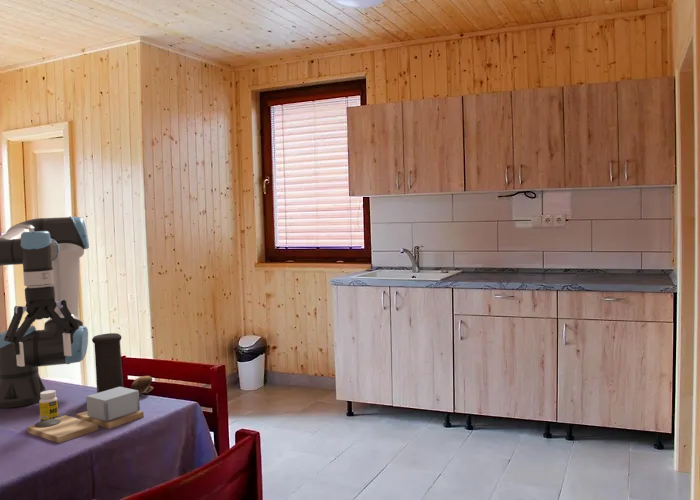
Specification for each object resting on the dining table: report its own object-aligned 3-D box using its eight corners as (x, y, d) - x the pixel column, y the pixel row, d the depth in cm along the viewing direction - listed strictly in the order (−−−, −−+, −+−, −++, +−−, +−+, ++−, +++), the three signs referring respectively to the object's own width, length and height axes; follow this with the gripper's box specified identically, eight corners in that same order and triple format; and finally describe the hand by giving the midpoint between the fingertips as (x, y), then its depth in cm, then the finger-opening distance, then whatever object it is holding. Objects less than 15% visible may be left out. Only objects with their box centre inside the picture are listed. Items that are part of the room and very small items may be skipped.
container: (115, 390, 209) (111, 330, 207) (130, 394, 203) (126, 332, 202) (91, 396, 202) (86, 335, 201) (105, 401, 196) (101, 337, 195)
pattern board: (76, 419, 179) (75, 403, 179) (110, 408, 188) (109, 393, 188) (109, 428, 170) (107, 412, 169) (143, 416, 178) (142, 401, 178)
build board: (25, 432, 170) (25, 425, 170) (64, 420, 179) (64, 414, 179) (58, 443, 160) (58, 436, 160) (98, 429, 169) (97, 423, 169)
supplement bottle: (51, 423, 176) (49, 394, 176) (36, 423, 177) (34, 394, 177) (62, 418, 181) (60, 389, 180) (48, 418, 182) (46, 389, 181)
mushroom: (162, 380, 206) (149, 367, 204) (153, 396, 199) (140, 382, 197) (145, 390, 208) (132, 377, 206) (136, 406, 201) (122, 393, 199)
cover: (87, 416, 176) (86, 396, 175) (121, 405, 184) (119, 386, 184) (106, 421, 170) (105, 400, 170) (139, 410, 179) (138, 390, 179)
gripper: (-1, 292, 164) (6, 372, 165) (87, 281, 184) (93, 352, 186) (-14, 291, 169) (-8, 369, 170) (73, 280, 189) (79, 350, 190)
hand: (45, 360), depth 178 cm, fingers open, 13 cm apart
